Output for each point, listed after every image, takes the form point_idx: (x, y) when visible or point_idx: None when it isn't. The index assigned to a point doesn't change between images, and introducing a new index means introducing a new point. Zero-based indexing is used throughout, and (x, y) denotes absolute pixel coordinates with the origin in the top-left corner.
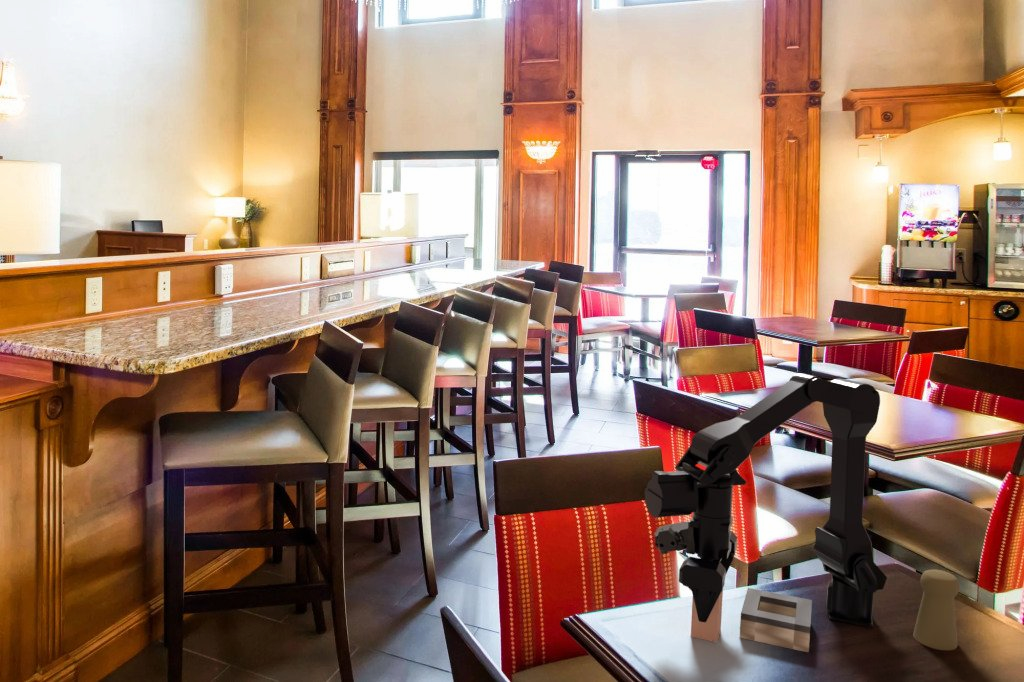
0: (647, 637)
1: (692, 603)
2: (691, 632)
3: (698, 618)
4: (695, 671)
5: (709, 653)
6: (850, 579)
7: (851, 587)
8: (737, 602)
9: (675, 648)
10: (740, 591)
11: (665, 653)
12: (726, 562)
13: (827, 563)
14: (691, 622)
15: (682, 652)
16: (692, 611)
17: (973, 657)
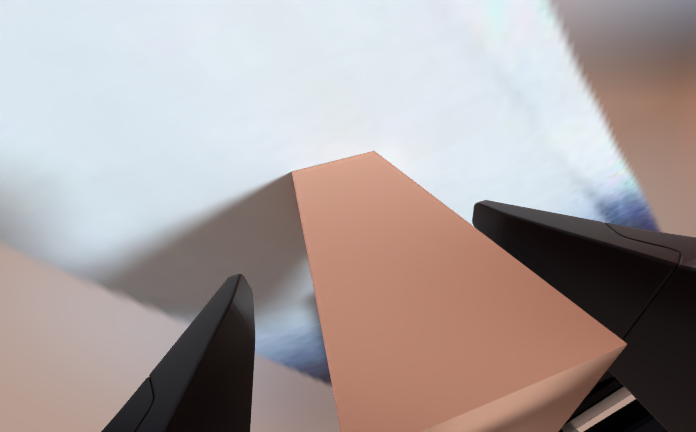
0: (128, 16)
1: (305, 237)
2: (293, 178)
3: (222, 286)
4: (93, 274)
5: (235, 253)
6: (590, 410)
7: None
8: (549, 187)
9: (164, 167)
10: (609, 168)
11: (87, 154)
12: (661, 399)
13: (642, 426)
14: (295, 191)
15: (163, 197)
16: (301, 216)
17: None
